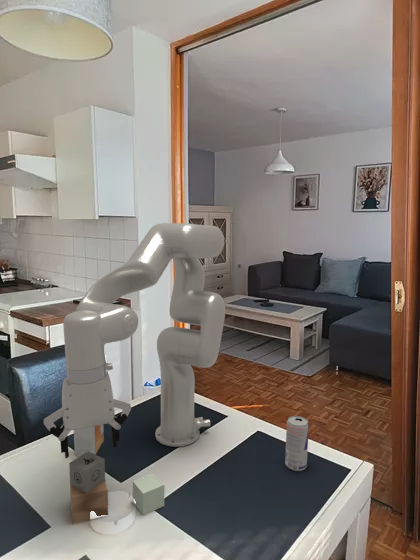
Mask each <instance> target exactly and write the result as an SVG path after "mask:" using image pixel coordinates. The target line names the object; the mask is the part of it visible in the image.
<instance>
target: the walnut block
mask: <svg viewBox="0 0 420 560" xmlns="http://www.w3.org/2000/svg"><path fill="white" fill-rule="evenodd" d="M106 480H107V479H105V481H104V482H102V483H101V484H100V485H98V486H97V487H95V488H94V489H93V490H91V491H90V492H88V493H87V494H86V493H84V492H82V491H80V490H79V489H77V488H75V487H73V486H71V485H70V484H69V487H70V488H69V489H70V491H69V492H70V493H69V495H70V508H71V509H70V510H71V520H72V525H76V524H81V523H85V522H87V521H91V520H90V512H91V511H94V512H95V513H96V515H97V516H101V515H108V516H109V499H108V498H109V497H108V496H109V492H108V491H109V490H108V486H107V481H106Z"/></svg>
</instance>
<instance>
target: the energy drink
mask: <svg viewBox="0 0 420 560" xmlns="http://www.w3.org/2000/svg"><path fill="white" fill-rule="evenodd" d="M309 426H310V425H309V421H308V419H307V418H305V417H303V416H300V415H299V416H298V415H293V416H292V415H291V416H289V417H288V418H287V421H286V433H285V434H286V436H285V437H286V438H285V454H284V455H285V458H284V459H285V460H284V464H285V466H286V467H287V468H288V469H289V470H290V471H295V472H302V471H304V470H305V469H306V468H307V467H308V451H309V450H308V447H309V432H310V431H309V429H310V427H309Z"/></svg>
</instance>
